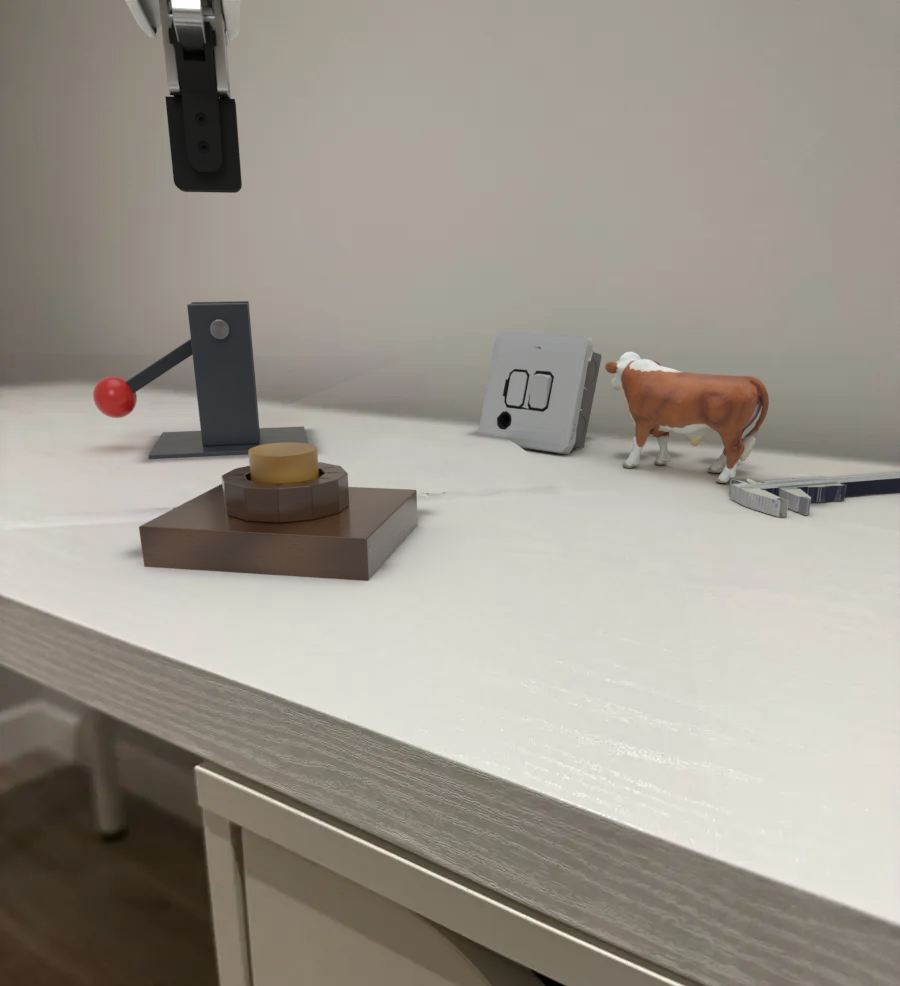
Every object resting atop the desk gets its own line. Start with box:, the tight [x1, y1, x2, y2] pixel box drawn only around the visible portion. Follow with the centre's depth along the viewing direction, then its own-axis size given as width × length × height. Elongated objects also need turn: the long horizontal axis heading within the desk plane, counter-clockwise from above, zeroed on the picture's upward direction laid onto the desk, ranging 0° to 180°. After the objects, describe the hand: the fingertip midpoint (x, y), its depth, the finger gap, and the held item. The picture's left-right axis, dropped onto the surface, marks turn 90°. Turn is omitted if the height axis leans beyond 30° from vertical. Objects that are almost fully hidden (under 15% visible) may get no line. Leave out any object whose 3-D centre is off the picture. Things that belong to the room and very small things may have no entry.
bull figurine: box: [604, 351, 770, 484], centre depth 64 cm, size 4×13×8 cm, turn 41°
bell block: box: [138, 461, 418, 582], centre depth 48 cm, size 12×10×4 cm
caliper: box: [728, 472, 900, 518], centre depth 59 cm, size 20×1×6 cm
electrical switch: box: [477, 331, 602, 455], centre depth 73 cm, size 9×5×9 cm, turn 49°
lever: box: [92, 338, 193, 419], centre depth 69 cm, size 13×3×3 cm, turn 102°
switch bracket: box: [148, 300, 309, 460], centre depth 70 cm, size 12×10×12 cm
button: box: [248, 443, 319, 483], centre depth 47 cm, size 4×4×2 cm
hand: (209, 190), depth 44 cm, fingers closed
